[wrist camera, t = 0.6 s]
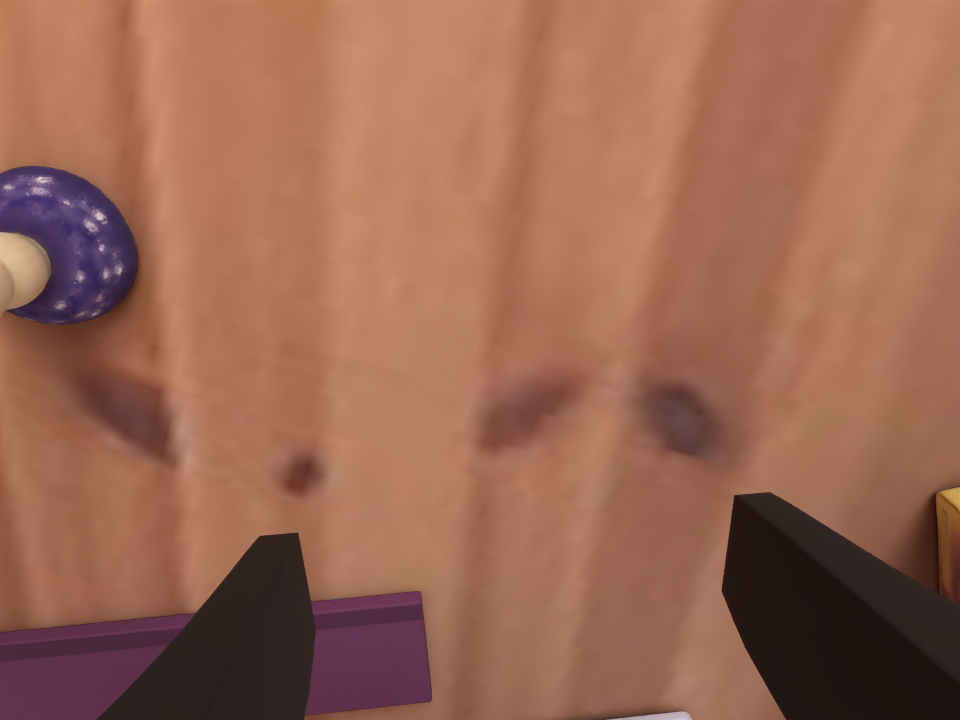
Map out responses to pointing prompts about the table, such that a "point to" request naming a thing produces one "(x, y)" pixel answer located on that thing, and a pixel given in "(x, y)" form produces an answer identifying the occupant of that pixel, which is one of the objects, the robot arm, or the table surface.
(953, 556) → the candy box
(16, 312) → the toy lamp
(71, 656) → the purple flat bar
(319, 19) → the table surface
